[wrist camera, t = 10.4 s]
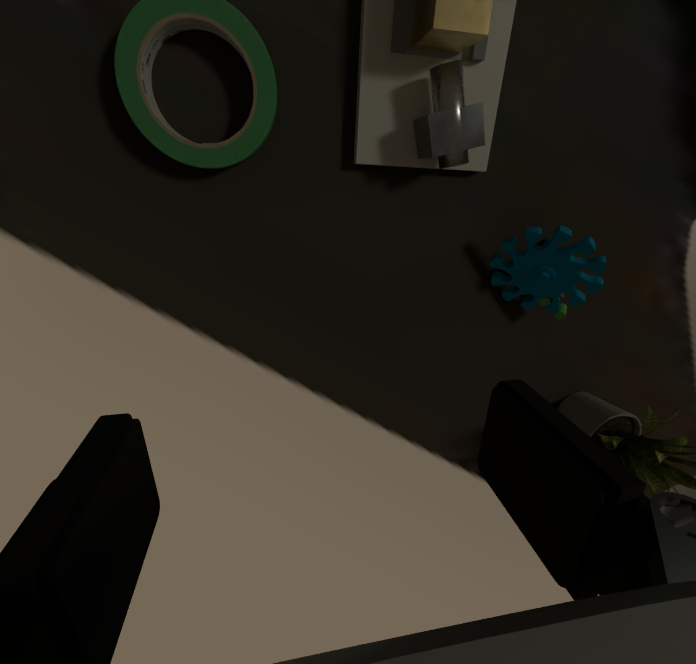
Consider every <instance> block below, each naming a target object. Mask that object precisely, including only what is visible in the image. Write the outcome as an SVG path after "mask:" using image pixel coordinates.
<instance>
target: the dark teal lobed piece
mask: <svg viewBox="0 0 696 664" xmlns="http://www.w3.org/2000/svg"><path fill="white" fill-rule="evenodd" d="M541 233H542V229H541V228H540V227H528V228H527V229H526V232H525V239H526V241H527V244H528V247H527V249H526V250H525V251H524V252H519V251H517V250H516V244H517V239H516V238H515V237H514V236H513V237H509V238H506V239H505V240H503V241H502V244H501V249H502V250H503V251H505V252H506V253H508V254H509V255H510V256H511V257H512V259H513V263H507V262H506V261H505V260H504V257H503V255H502V254H500V253H496V254H494V255H493V257H492V258H491V260H490V263H489V266H490V267H492V268H497V269H501V270H504V271H506V272H507V273H509V274H510V275H511V276H505V275H504V274H502V273H501V272H499V271H494V272H493V274H492V277H491V285H493V286H499V285H503V284H508V285H513V286H517V287H518V288H512V287H505V288H503V290H502V293H501V294H502V297H503V298H504V299H505V300H506V301H511V300H513V299H514V298H515V297H517V296H519V295H525V294H530V295H533V296H528V297H524V298H523V299H522V302H521V307H523V308H524V309H527V310H529V311H531V310H533V309H534V306H535V303H536V302H537V301H538V300H539V303H540V304H541V305H546V307H545V310H546V311H550V312H555V313H554V317H555V318H557V319H564V318H565V317H566V310H567V306H566V305H565V304H563V303H561V302H562V301H563V296H564V293H570V294H571V295H570V299H569V304H570V305H571V306H579V305H582V304H585V294H583V293H582V292H580V291H579V290H578V289H577V288H576V287H575V283H577V282H582V283H584V284H585V285H586V289H587V291H589V292H591V293H595V292H597V291H598V290H599V289H601V288H602V287H603V279H602V278H600V277H596V276H590V275H587V274H585V273H583V272H582V271H581V270H580V268H588V269H590V270H591V271H592V272H594V273H597V274H600V273H603V272H604V270H605V267H606V257H604V256H597V257H594V258H579V257H575V256H573V254H575V253H580V254H585V255H589V254H592V253H594V252H595V242H594V240H593V239H592V238H591V237H590V236H588V237H584V238H582V239H581V240H580V241H579V242H578V243H576V244H574V245H571V246H568V247H562V248H559V247H556V246H555V245H556V244H560V243H565V242H567V241H569V240H570V238H571V234H572V231H571V230H570V229H569V228H567V227H564V226H561V225H560V226H558V227H557V228H556V229H555V233H554V236H553V237H552V238H547V239H546V240H545V242H544V245H542V246H537V245H535V244H534V243H535V242H537V241H538V240H539V239H540V237H541Z"/></svg>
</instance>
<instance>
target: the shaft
mask: <svg viewBox="0 0 696 664" xmlns="http://www.w3.org/2000/svg"><path fill="white" fill-rule="evenodd" d="M429 71H430V82H431V92H432V102H433V112H434V113H433V114H429V115H426V116H423V117H421V118H418V119H416V120H413V123H414V131H415V140H416V148H417V156H418V159H425V158H434V157H438V164H439V169H442V168H449V167H454V166H459V165H463V164H466V163H469V155H468V149H472V148H476V147H480V146H484V145H485V133H484V112H483V102H481V103H477V104H472V105H468V106H465V94H464V78H463V63H462V60H454V61H450V62H446V63H443V64H440V65H437V66H435V67H432V68H431V69H429Z"/></svg>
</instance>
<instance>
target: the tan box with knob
mask: <svg viewBox="0 0 696 664" xmlns="http://www.w3.org/2000/svg"><path fill="white" fill-rule="evenodd" d="M493 1H494V0H416V5H415V16H414V27H413V37H412V49H421V50H430V51H438V52H447V53H456V54H460V53H462V52H463V51H465V50H466V49H468V48H469V47H471V46H472V45H474V44H475V43H477V42H478V41H480V40H481V39H483V38H484V37H486V36H487V35H488V33H489V26H490V20H491V13H492V7H493Z"/></svg>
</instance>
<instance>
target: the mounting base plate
mask: <svg viewBox="0 0 696 664" xmlns="http://www.w3.org/2000/svg"><path fill="white" fill-rule="evenodd" d="M415 5H416V0H362V6H361V26H360V45H359V65H358V85H357V104H356V124H355V144H354V163H353V164H365V165H381V166H398V167H414V168H431V169H439V164H438V157H434V158H425V159H418V156H417V148H416V140H415V131H414V123H413V120H416V119H418V118H421V117H423V116H426V115H429V114H433V113H434V112H433V102H432V92H431V82H430V71H429V69H431V68H432V67H435V66H437V65H440V64H443V63H446V62H450V61H454V60H462V63H463V78H464V94H465V106H468V105H472V104H477V103H481V102H483V112H484V133H485V145H484V146H480V147H476V148H472V149H468V155H469V163H466V164H463V165H459V166H454V167H449V168H442V169H447V170H464V171H486V169H487V163H488V158H489V152H490V147H491V141H492V135H493V130H494V124H495V118H496V113H497V107H498V102H499V96H500V90H501V85H502V79H503V73H504V68H505V62H506V56H507V51H508V45H509V40H510V34H511V28H512V23H513V17H514V11H515V6H516V0H494V1H493V7H492V13H491V20H490V26H489V33H488V35H487V36H486V37H484V38H483V39H481V40H480V41H478V42H477V43H475V44H474V45H472V46H471V47H469V48H468V49H466V50H465V51H463V52H462V53H460V54H456V53H447V52H438V51H430V50H421V49H412V37H413V27H414V16H415Z"/></svg>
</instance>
